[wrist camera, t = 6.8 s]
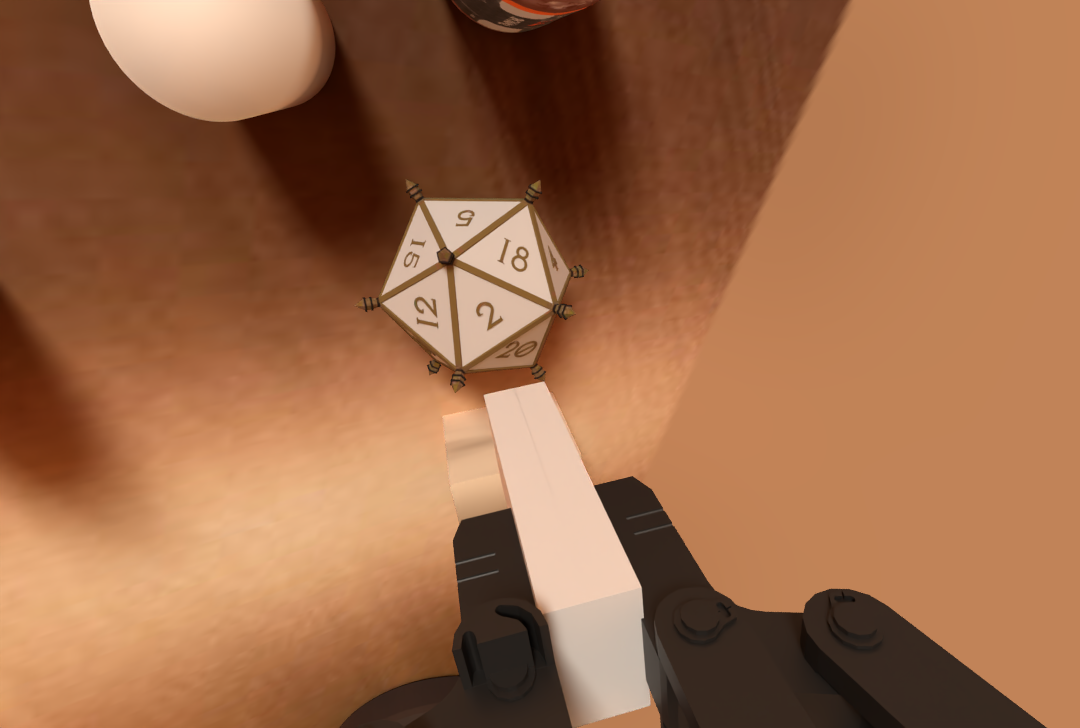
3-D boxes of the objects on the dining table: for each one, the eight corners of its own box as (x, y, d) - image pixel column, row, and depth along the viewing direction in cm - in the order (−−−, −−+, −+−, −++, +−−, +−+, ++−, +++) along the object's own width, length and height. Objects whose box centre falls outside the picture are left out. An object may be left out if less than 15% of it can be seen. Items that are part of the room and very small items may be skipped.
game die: (497, 222, 31) (665, 254, 25) (436, 373, 30) (591, 442, 24) (363, 125, 24) (553, 136, 18) (282, 321, 23) (448, 400, 17)
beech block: (564, 478, 34) (592, 551, 29) (463, 502, 34) (474, 581, 28) (552, 391, 32) (581, 454, 26) (442, 415, 31) (449, 484, 26)
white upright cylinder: (350, 98, 24) (326, 107, 17) (222, 117, 23) (141, 135, 16) (312, -51, 21) (266, -114, 14) (169, -34, 21) (47, -91, 14)
